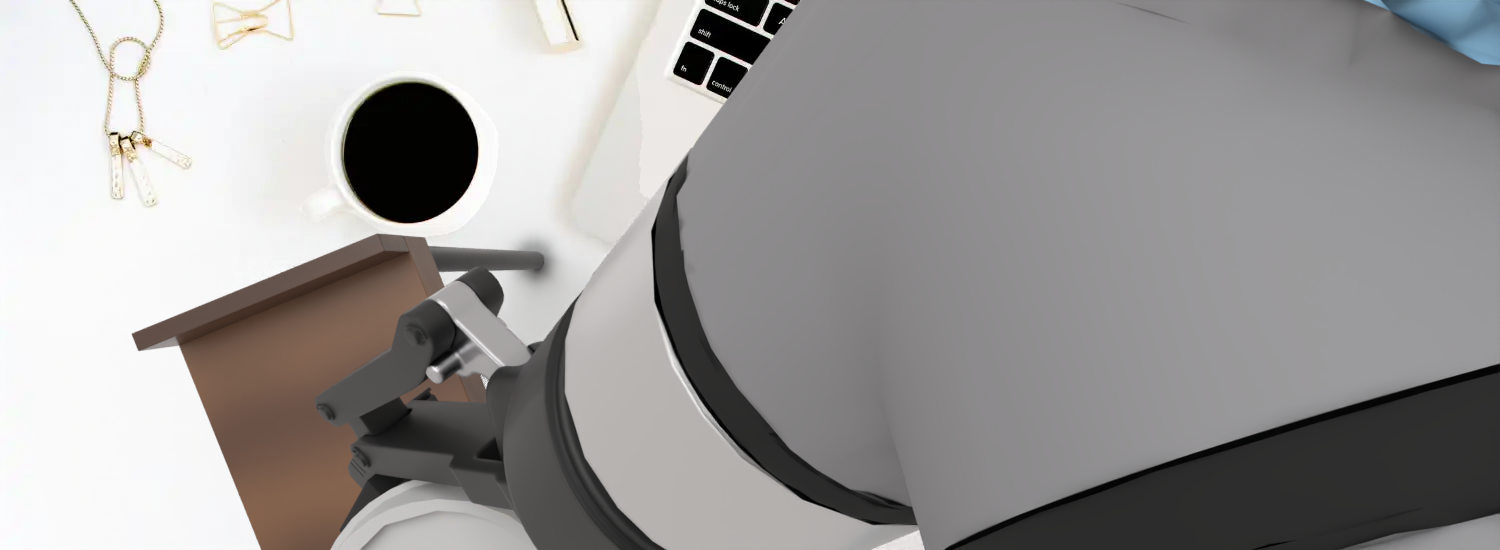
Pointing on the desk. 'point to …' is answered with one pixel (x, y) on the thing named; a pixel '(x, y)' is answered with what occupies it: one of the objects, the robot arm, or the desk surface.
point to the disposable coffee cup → (432, 522)
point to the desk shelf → (301, 377)
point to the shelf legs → (484, 259)
